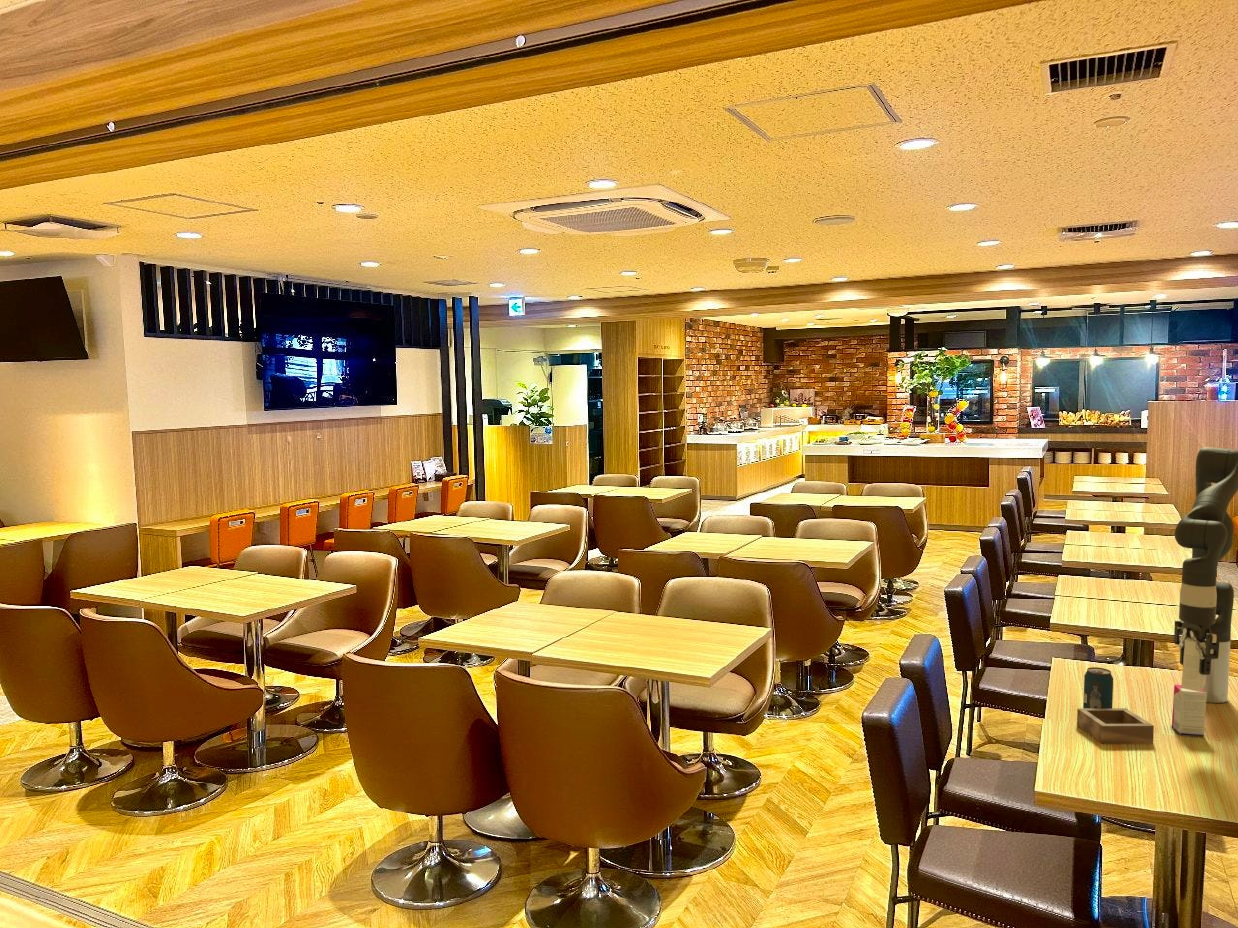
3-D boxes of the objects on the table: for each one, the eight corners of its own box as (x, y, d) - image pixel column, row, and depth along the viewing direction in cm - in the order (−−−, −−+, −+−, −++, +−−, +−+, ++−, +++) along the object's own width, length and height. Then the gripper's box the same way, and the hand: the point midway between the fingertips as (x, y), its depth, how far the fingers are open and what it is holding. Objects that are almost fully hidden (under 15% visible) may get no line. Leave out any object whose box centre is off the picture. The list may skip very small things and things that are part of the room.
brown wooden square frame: (1076, 725, 242) (1077, 708, 242) (1125, 724, 242) (1125, 708, 242) (1102, 743, 230) (1102, 725, 229) (1153, 743, 230) (1153, 725, 229)
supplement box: (1205, 737, 234) (1207, 692, 233) (1179, 735, 235) (1181, 691, 234) (1195, 728, 239) (1198, 685, 238) (1170, 727, 241) (1172, 683, 240)
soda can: (1105, 709, 254) (1107, 666, 253) (1116, 718, 247) (1118, 674, 246) (1078, 709, 254) (1080, 666, 253) (1089, 718, 247) (1090, 673, 246)
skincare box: (1185, 682, 230) (1187, 634, 229) (1206, 685, 227) (1209, 637, 226) (1180, 688, 225) (1182, 639, 224) (1202, 692, 222) (1204, 642, 221)
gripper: (1233, 609, 217) (1229, 678, 218) (1194, 595, 231) (1191, 660, 233) (1200, 609, 217) (1197, 678, 218) (1164, 595, 231) (1161, 660, 233)
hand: (1194, 669), depth 225 cm, fingers closed on skincare box, 7 cm apart
